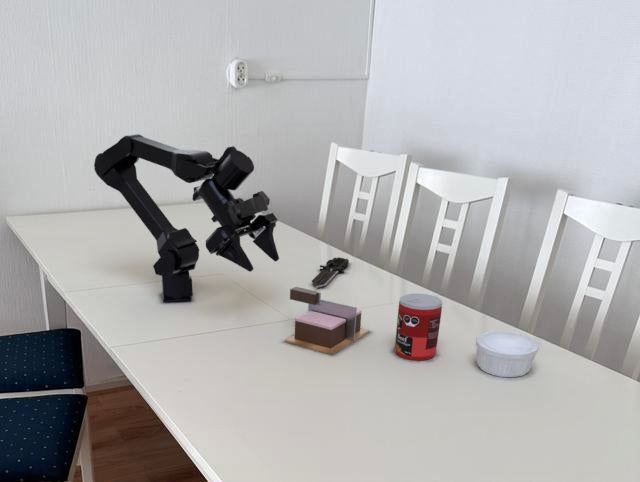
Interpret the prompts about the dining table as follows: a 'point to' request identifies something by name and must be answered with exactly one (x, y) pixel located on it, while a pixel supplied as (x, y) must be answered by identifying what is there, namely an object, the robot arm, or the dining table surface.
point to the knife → (332, 273)
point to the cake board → (325, 349)
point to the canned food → (418, 326)
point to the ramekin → (505, 353)
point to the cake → (322, 328)
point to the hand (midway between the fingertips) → (265, 265)
